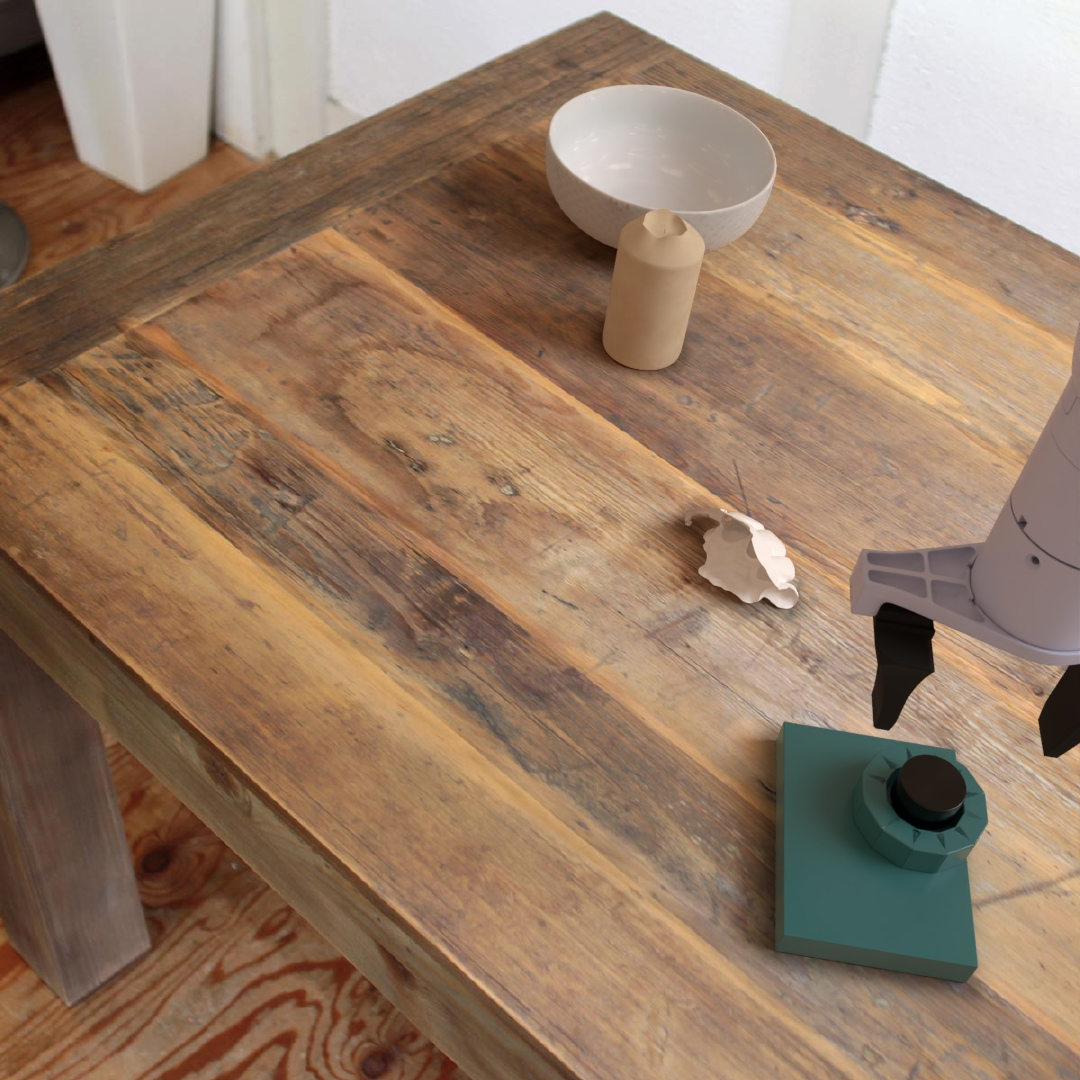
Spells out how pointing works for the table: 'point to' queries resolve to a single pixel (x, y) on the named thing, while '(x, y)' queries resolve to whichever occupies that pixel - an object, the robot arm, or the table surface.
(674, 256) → the candle
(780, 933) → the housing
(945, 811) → the button
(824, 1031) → the table surface
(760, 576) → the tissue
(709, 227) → the cereal bowl
